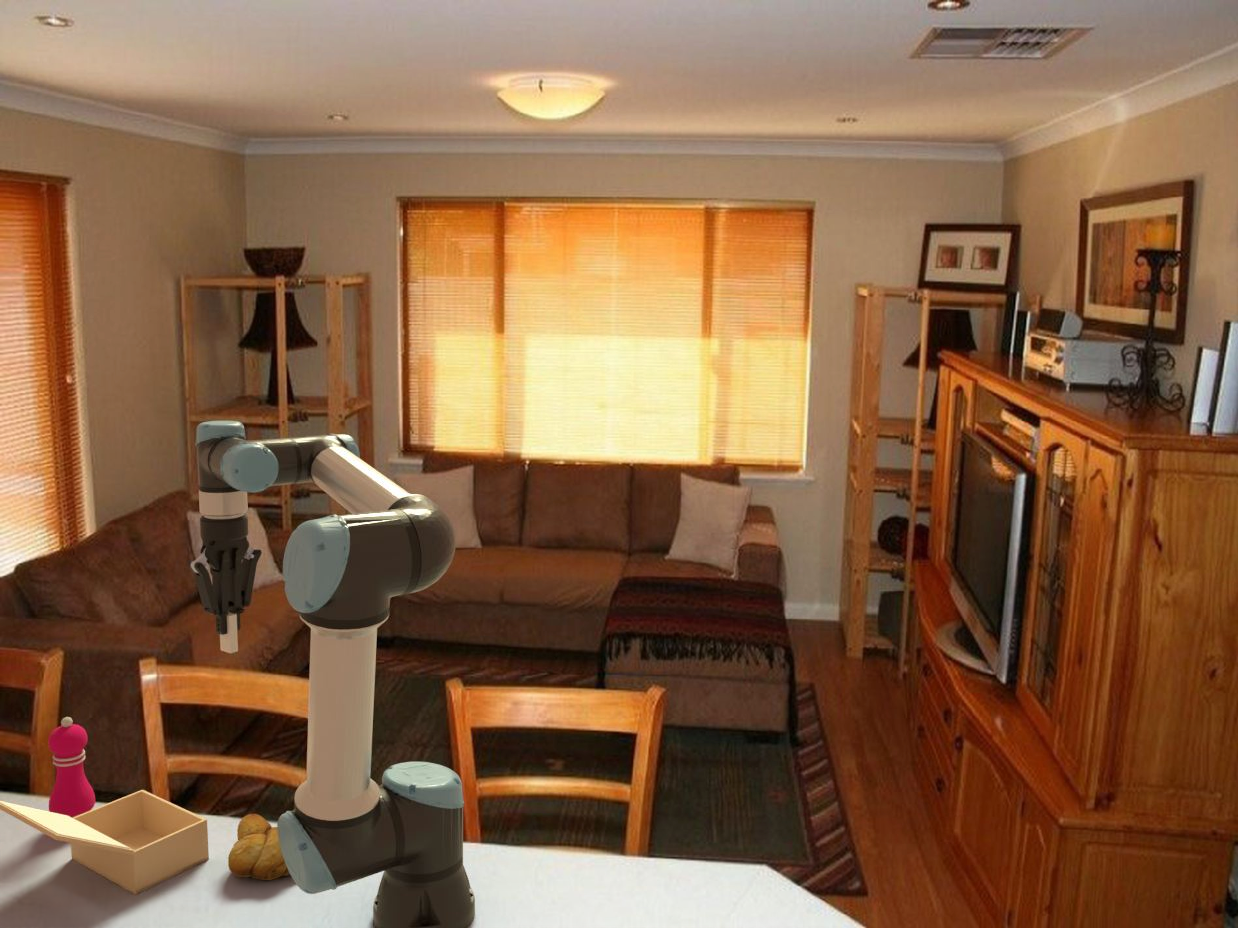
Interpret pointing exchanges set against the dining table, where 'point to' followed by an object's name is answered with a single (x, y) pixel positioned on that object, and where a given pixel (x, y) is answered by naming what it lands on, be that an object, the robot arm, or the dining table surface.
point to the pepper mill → (70, 771)
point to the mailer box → (143, 840)
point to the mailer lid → (63, 828)
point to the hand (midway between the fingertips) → (229, 650)
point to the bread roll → (257, 850)
